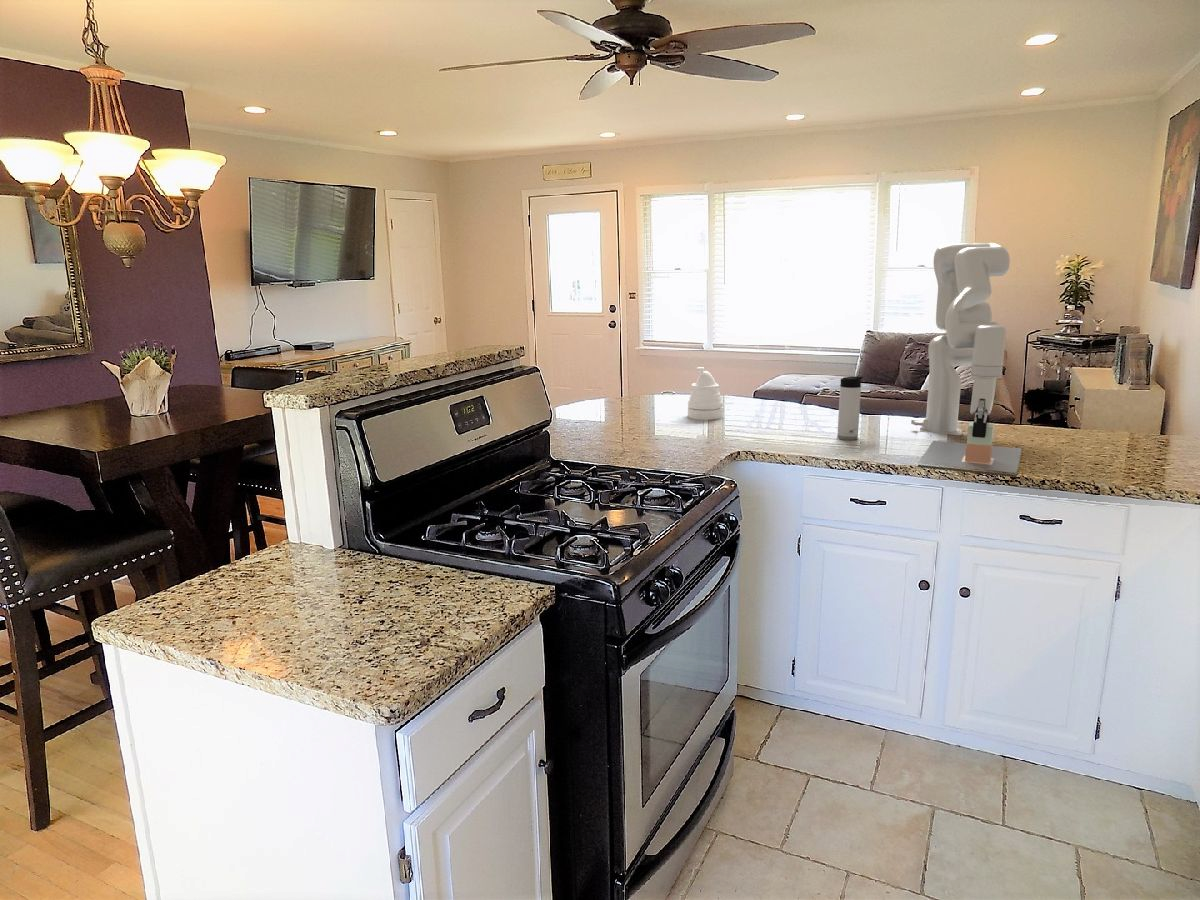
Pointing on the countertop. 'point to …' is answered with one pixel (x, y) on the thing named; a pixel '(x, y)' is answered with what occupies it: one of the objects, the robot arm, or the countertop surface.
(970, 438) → the sage brick
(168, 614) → the countertop surface
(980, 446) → the terracotta brick
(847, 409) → the travel mug
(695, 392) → the honey pot
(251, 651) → the countertop surface
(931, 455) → the baseplate
